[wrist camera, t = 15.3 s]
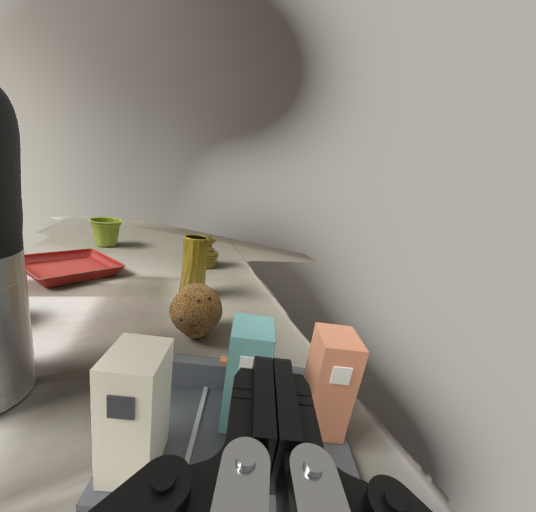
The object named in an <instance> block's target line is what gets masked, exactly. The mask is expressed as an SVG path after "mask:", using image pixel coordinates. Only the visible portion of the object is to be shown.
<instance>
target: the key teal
mask: <svg viewBox="0 0 536 512" xmlns="http://www.w3.org/2000/svg"><path fill="white" fill-rule="evenodd" d="M275 344H276V338H275V328H274V318H273V317H268V316H260V315H252V314H244V313H235V314H234V320H233V325H232V330H231V335H230V342H229V350H228V358H227V366H226V374H225V382H224V390H223V397H222V405H221V413H220V421H219V429H218V433H224V434H226V430H227V423H228V415H229V408H230V401H231V394H232V388H233V381H234V376H235V374H236V373H237V372H238V370H239V369H240V368H241V367H242V368H251V369H252V367H253V361H254V356H263V357H271V358H272V359H273V355H274V350H275Z"/></svg>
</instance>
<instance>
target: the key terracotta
mask: <svg viewBox="0 0 536 512" xmlns="http://www.w3.org/2000/svg"><path fill="white" fill-rule="evenodd" d="M368 355H369V352H368V350H367V348H366V347H365V345H364V344H363V342H362V341H361V339H360V337H359V336H358V334H357V333H356V331H355V330H354V328H353V327H352V326H343V325H335V324H327V323H318V322H316V323H315V327H314V332H313V337H312V341H311V346H310V350H309V355H308V359H307V364H306V369H305V373H304V378H305V379H306V381H307V382H308V383H309V385H310V389H311V394H312V398H313V402H314V408H315V411H316V415H317V420H318V424H319V428H320V432H321V437H322V441H323V442H325V443H336V444H343V442H344V438H345V435H346V432H347V428H348V425H349V421H350V418H351V414H352V411H353V407H354V404H355V400H356V397H357V393H358V390H359V386H360V383H361V379H362V376H363V372H364V369H365V365H366V362H367V359H368Z"/></svg>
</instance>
